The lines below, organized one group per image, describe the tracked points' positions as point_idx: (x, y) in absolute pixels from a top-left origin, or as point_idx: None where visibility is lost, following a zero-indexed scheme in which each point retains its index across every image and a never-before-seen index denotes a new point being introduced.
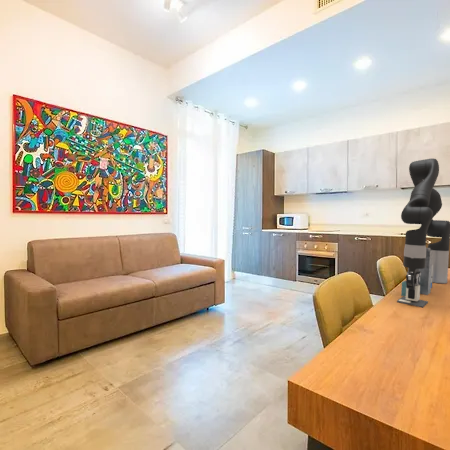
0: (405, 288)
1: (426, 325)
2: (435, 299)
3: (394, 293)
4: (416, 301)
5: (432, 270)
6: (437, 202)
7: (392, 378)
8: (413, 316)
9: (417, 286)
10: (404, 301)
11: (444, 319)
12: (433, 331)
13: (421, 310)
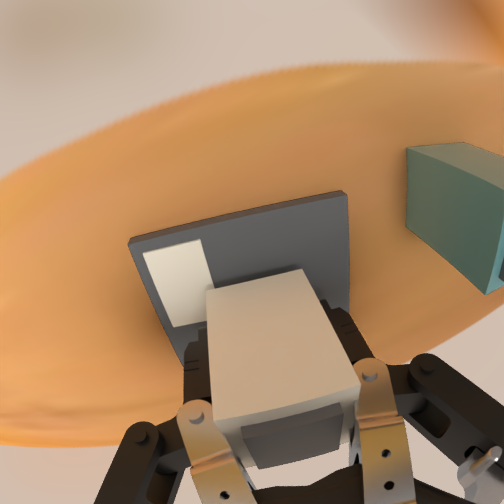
0: (456, 205)
1: (10, 421)
2: (447, 313)
3: (425, 82)
4: None
5: None
6: None
7: None
8: (19, 389)
9: (251, 464)
10: (163, 294)
11: (119, 443)
12: (2, 432)
13: (128, 387)
